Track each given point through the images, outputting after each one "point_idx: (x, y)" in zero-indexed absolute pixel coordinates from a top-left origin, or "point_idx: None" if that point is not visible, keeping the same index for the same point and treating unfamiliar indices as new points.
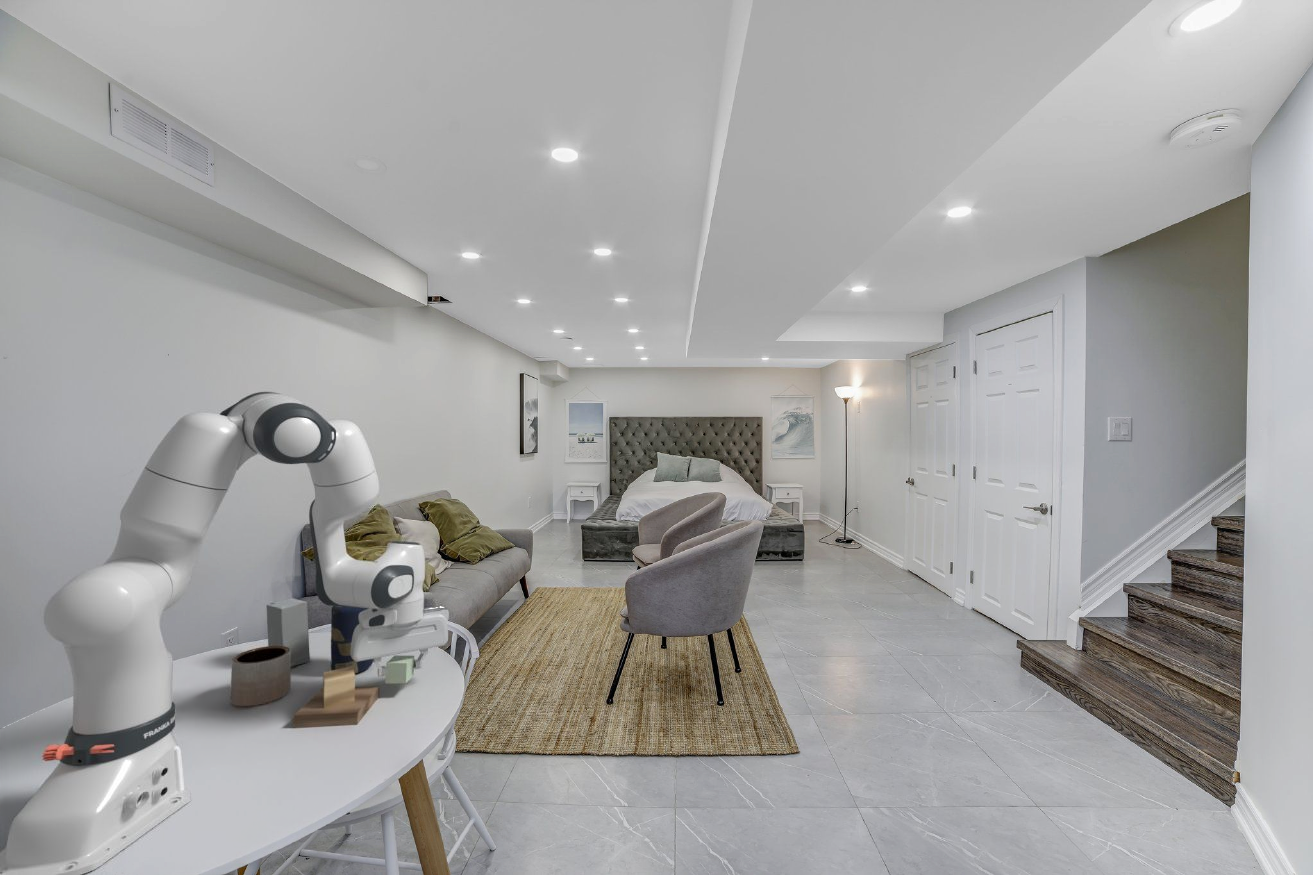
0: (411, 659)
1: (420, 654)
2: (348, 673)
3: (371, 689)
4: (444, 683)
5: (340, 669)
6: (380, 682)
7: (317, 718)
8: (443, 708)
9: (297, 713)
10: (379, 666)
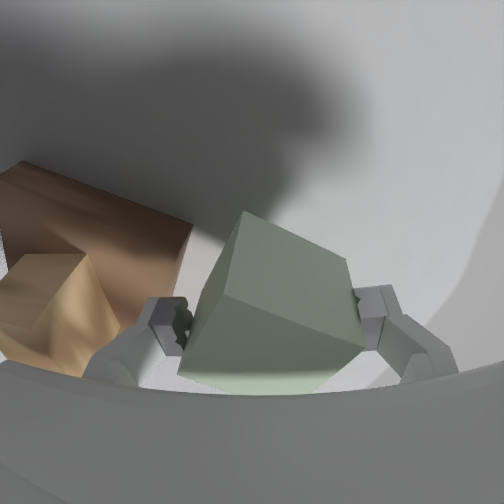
0: (331, 370)
1: (406, 343)
2: None
3: (152, 272)
4: (450, 234)
5: (5, 326)
6: (193, 64)
7: None
8: (366, 371)
9: None
10: (148, 370)
